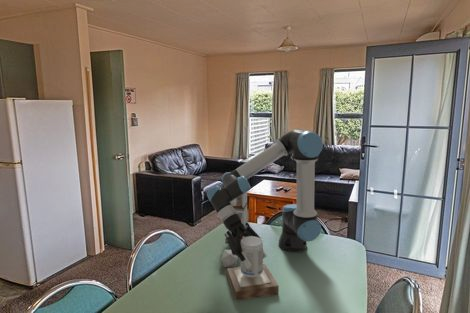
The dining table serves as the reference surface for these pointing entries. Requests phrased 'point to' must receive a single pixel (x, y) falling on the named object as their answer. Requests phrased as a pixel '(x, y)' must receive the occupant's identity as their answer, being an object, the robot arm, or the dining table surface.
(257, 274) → the supplement tub
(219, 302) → the dining table surface
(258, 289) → the walnut platform
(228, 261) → the die
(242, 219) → the display case
